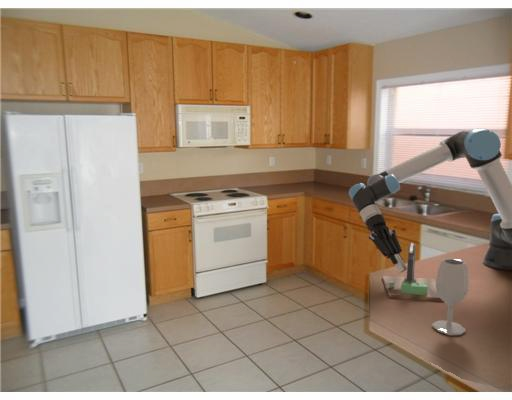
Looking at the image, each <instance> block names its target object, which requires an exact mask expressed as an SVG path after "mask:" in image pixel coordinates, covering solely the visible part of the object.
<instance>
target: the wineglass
mask: <svg viewBox="0 0 512 400" xmlns="http://www.w3.org/2000/svg"><path fill="white" fill-rule="evenodd" d="M440 262H441V263H440V264H439V266H438V270H437V273H436V277H435V278H436V280H435V282H436V290H437V294H438V296H439V297H440V298H441V299H442V300H443V301H444V302H443V301H442V302H443V303H445V305H447V313H446V320H436V321H435V322H433V323H432V324H431V327H433V329H435V330H436V331H437V332H439V333H441V334H445V335H447V336H450V337H451V336H462V335H463V334H464V333H466V332H467V329H466V328H465V327H464V326H462V325H461V324H460V323H457V322H455V321H453V313H454V312H453V310H454V307H456V305H458V304H460V303H461V302H463V301H464V300H465V299H466V296H467V294H468V292H469V286H470V285H469V283H470V282H469V281H470V280H469V271H468V270H469V269H468V267H467V266H468V265H467V263H466V262H465V261H463V260H461V259H459V258H458V259H457V258H444V259H441V261H440Z"/></svg>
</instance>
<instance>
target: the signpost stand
mask: <svg viewBox="0 0 512 400" xmlns="http://www.w3.org/2000/svg"><path fill="white" fill-rule="evenodd" d="M416 250H417V244H415V243H413V242H410V243H408V250H407V251H408V252H407V265H406V267H407V270H406V276H403V277H404V281H405V282H411V283H416V278H417V277H415V267H416V266H415V265H416Z"/></svg>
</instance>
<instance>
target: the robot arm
mask: <svg viewBox="0 0 512 400" xmlns="http://www.w3.org/2000/svg"><path fill="white" fill-rule="evenodd" d="M501 145H502V144H501V139H500V136H499V135H498V134H496V133H495V131H493V130H491V129H486V128H475V129H474V128H472V129H471V128H469V129H464V130H461V131H459V132H457V133H455V134H453V135H451V136H449V137H447V138H445V139H444V140H441V141H440V142H439V144H438V145H436V146H434V147H433V148H430V149H428V150H426V151H424V152H422V153H420V154H418V155H415V156H414V157H411V158H409V159H407V160H406V161H403V162H401V163H399V164H397V165H394V166H392V167H390V168H389V169H386V170H384V171H383V172H380V173H378V174H377V173H375V174H372V175H370V176H369V178H368V179H367V185H365V184H364V183H361V182H360V183H357V184H356V183H355V184H354V185H353V186H351V187H350V188H349V190H348V195H349V197H350V199H351V202H352V203H353V205H354V206H355V208H356V210H357V212H358V214H359V216H360V217H361V218H362V221H363V222H364V223H365V226H366V228H367V229H368V231H369V232H370V233H371V234H370V235H368V239H369V240H371V241H372V242H373V244H374V245H375V246H376V248H377V249H378V250H379V252H380V253H381V254H382V255H383V257H385V258H386V259H390V261H391V262H392V265H394V266H395V268H396V270H397V272H398V274H402V273H404V272H405V271H407V265H406V264H405V263H404V259H403V258H402V256H401V253H402V251H403V249H402V247H401V244H400V242H399V240H398V237H397V235H396V234H397V233H396V230H395V229H390V228H389V227H388V226H387V224H386V223H387V221H386V218H385V217H384V216H383V214H382V212H381V210H380V209H379V207H378V205H377V204H376V203H377V202H378V201H380V200H382V199H385V198H387V197H388V196H389V197H390V196H391V195H394V194H396V193H397V192H398V191H400V190H401V185H400V184H401V183H403V182H405V181H407V180H409V179H411V178H413V177H416V176H418V175H420V174H422V173H424V172H426V171H428V170H430V169H433V168H435V167H437V166H439V165H442V164H444V163H445V162H450V163H452V162H453V161H456V160H459V159H464V158H465V159H466V160H467V163H468V164H469V166H470V169H474V170H476V171H477V172H478V176H479V177H480V179H481V181H482V183H483V185H484V187H485V189H486V190H487V193H488V195H489V197H490V198H491V201H492V202H493V205H494V207H495V209H496V211H497V212H498V213H494V214H493V215H492V216H491V220H490V229H489V231H490V232H489V243H488V248H487V250H486V251H485V254H484V255H483V264H484V265H485V266H487V267H489V268H493V269H498V270H504V271H512V183H511V180H510V178H509V177H508V174H507V173H506V171H505V168H504V166H503V164H502V163H501V161H500V160H501V159H502V157H503V154H502V152H501V149H500V148H501Z"/></svg>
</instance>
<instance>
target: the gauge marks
mask: <svg viewBox="0 0 512 400" xmlns="http://www.w3.org/2000/svg"><path fill="white" fill-rule="evenodd" d="M394 285H395V282H394V281H390V282H386V287H385V289H386V288H388V289H389V288H393V287H394ZM427 288H428V287H427V286H426V285H425V284H424V283H411V282H404V281H403V283H402V287H401V293H407V294H417V295H427Z"/></svg>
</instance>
